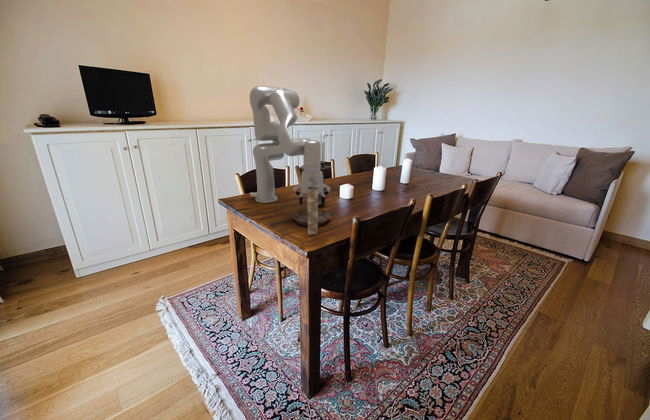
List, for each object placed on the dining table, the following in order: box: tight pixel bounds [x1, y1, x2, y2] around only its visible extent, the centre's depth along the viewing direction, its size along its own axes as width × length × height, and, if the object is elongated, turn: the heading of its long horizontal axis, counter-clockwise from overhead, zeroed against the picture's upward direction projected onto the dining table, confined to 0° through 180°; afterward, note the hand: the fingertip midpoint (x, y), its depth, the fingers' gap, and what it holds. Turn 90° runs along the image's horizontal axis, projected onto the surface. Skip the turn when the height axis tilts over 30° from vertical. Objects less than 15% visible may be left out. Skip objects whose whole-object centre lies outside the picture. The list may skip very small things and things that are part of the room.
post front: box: [307, 182, 319, 236], centre depth 120 cm, size 4×8×21 cm, turn 4°
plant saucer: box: [292, 208, 331, 227], centre depth 134 cm, size 18×18×3 cm
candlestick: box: [320, 133, 332, 191], centre depth 181 cm, size 11×11×35 cm
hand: (311, 204), depth 131 cm, fingers open, 9 cm apart
